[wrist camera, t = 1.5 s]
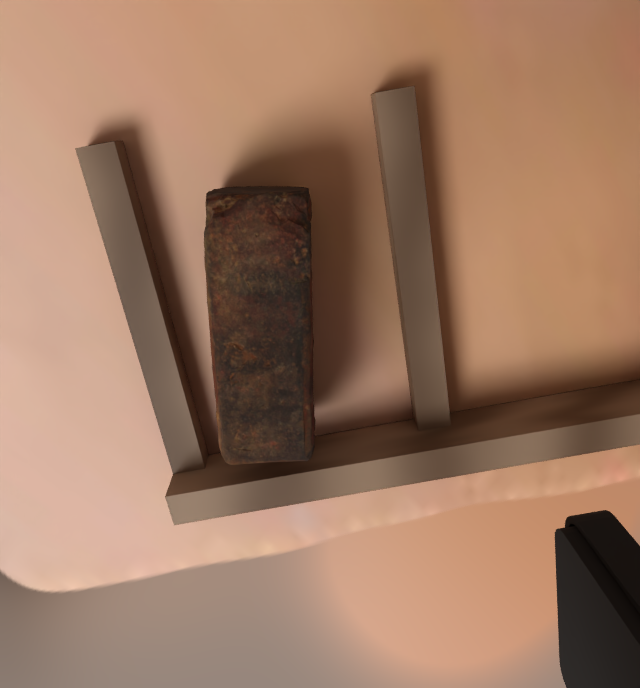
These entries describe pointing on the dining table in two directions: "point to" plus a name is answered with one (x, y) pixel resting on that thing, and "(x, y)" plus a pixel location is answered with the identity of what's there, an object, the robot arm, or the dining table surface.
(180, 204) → the dining table surface
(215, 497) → the lane rack
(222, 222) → the brick
